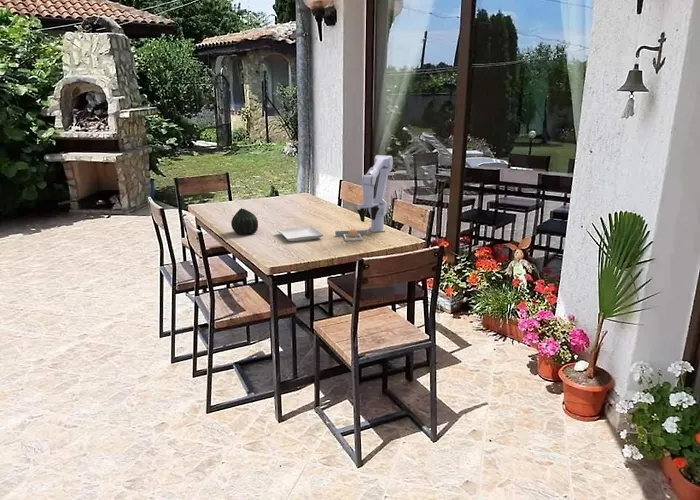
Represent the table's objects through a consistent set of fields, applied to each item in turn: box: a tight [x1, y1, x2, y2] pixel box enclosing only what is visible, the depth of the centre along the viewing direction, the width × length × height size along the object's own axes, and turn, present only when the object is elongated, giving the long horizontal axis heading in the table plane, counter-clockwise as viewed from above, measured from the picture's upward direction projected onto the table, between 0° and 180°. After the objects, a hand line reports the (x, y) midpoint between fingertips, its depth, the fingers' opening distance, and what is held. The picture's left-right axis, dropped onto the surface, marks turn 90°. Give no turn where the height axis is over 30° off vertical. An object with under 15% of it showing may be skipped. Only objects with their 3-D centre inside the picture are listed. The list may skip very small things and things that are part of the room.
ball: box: [348, 228, 357, 238], centre depth 298 cm, size 5×5×5 cm
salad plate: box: [276, 225, 324, 242], centre depth 302 cm, size 21×21×3 cm
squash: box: [230, 208, 259, 236], centre depth 307 cm, size 14×15×15 cm
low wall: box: [335, 229, 368, 237], centre depth 304 cm, size 1×18×3 cm, turn 97°
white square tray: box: [342, 234, 364, 242], centre depth 299 cm, size 10×10×2 cm
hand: (367, 220), depth 301 cm, fingers open, 7 cm apart
